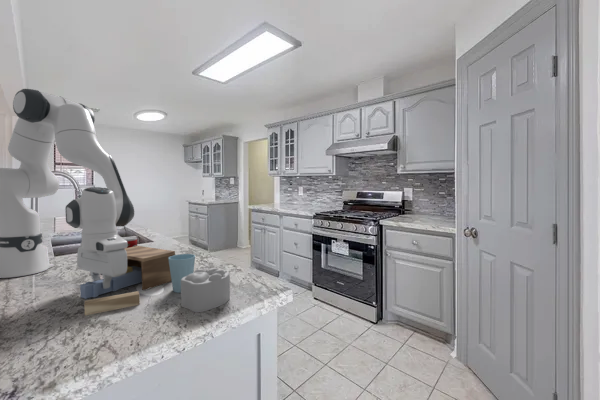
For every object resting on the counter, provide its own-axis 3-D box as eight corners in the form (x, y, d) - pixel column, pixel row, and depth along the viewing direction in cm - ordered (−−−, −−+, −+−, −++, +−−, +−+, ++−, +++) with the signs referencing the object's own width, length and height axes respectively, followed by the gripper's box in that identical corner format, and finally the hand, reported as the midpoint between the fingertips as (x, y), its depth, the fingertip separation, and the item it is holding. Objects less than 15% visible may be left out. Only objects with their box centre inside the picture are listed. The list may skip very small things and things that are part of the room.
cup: (175, 285, 93) (174, 253, 93) (199, 285, 93) (198, 253, 93) (164, 294, 86) (163, 259, 85) (190, 294, 86) (189, 259, 85)
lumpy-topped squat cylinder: (176, 304, 78) (175, 273, 78) (216, 290, 89) (216, 263, 88) (198, 314, 72) (198, 280, 72) (238, 298, 82) (238, 268, 82)
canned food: (128, 267, 115) (127, 240, 114) (111, 266, 116) (110, 239, 116) (142, 262, 122) (141, 237, 122) (126, 261, 124) (125, 236, 123)
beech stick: (85, 312, 74) (85, 300, 73) (138, 302, 80) (138, 291, 80) (84, 316, 71) (84, 304, 71) (139, 305, 78) (139, 294, 78)
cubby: (107, 280, 98) (106, 251, 98) (139, 272, 108) (138, 245, 108) (144, 290, 89) (143, 258, 88) (175, 279, 99) (175, 251, 99)
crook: (69, 292, 86) (69, 281, 86) (133, 275, 103) (133, 265, 103) (87, 299, 81) (86, 287, 81) (151, 280, 98) (151, 269, 98)
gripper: (69, 240, 88) (71, 284, 89) (108, 246, 79) (110, 296, 79) (92, 237, 94) (93, 278, 94) (131, 242, 84) (132, 288, 85)
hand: (101, 286), depth 87 cm, fingers closed on crook, 3 cm apart
